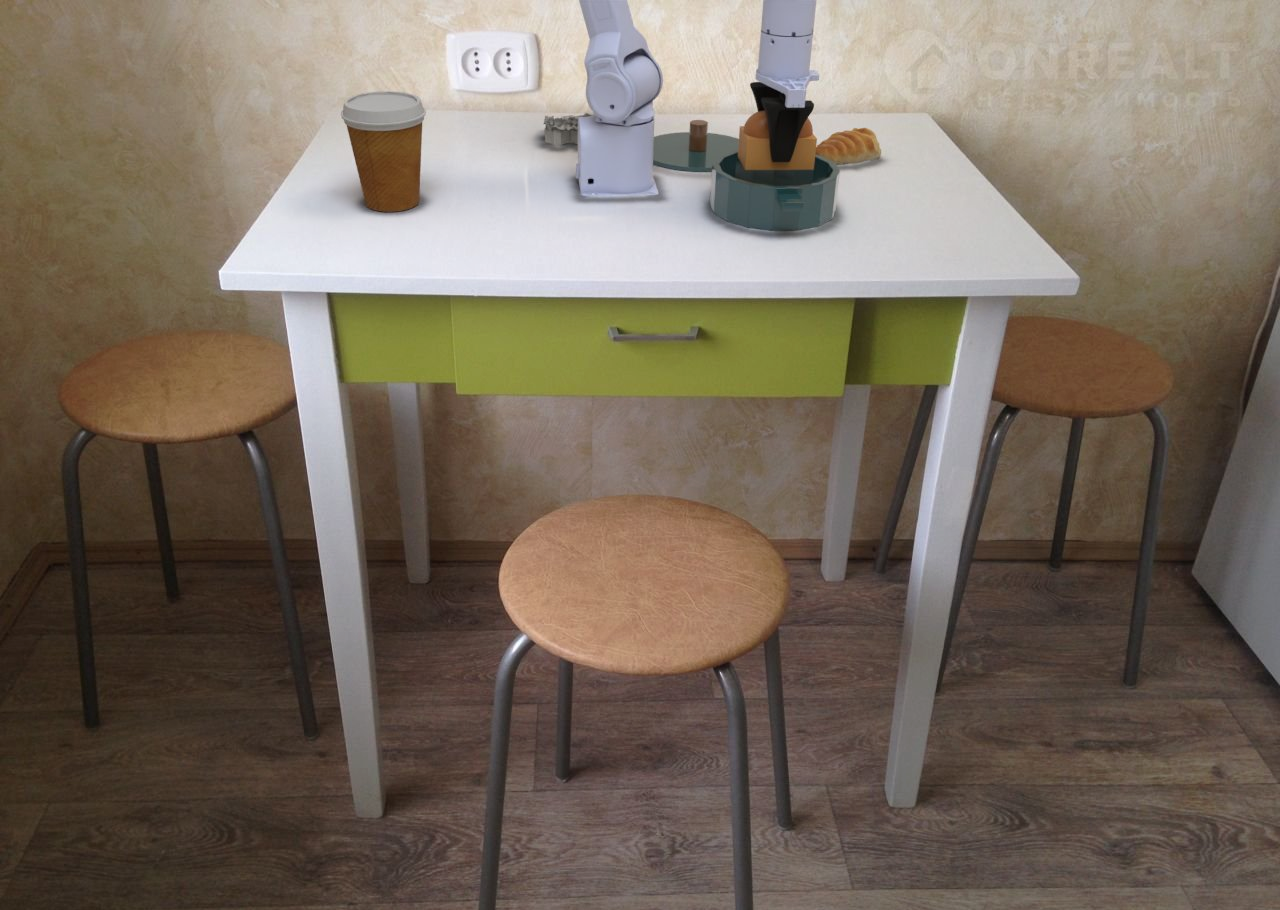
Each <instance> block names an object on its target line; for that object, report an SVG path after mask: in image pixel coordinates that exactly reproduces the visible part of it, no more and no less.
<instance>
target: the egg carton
mask: <svg viewBox="0 0 1280 910" xmlns="http://www.w3.org/2000/svg"><path fill="white" fill-rule="evenodd" d="M593 115H595V114H594V113H590V112H585V113H584V114H581V115H572V114H571V115H563V116H561V117H555V116H554V115H552V116H548V115H545V116H544V119H543V125H545V127H544V143H545V144H551V145H553V146H557V147H558V146H559V147H560V146H562V145H564V144H574V145H577V146H578V118H580V117H588V116H593Z"/></svg>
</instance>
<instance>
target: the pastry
mask: <svg viewBox="0 0 1280 910" xmlns="http://www.w3.org/2000/svg"><path fill="white" fill-rule="evenodd" d="M815 154H816V155H820V156H822V157H824V158H826V159H828V160H830V161H832V162H834V163H835V164H836V166H837V165H853V164H859V163H861V162H868V161H873V160H877V159H878V158H879V157H881V156H882V155H881V154H882V149H881V147H880V142H879V141H878V138H877V134H876V133H875V132H874V131H873V130H871V129H870V128H868V127H861V128H860V127H859V128H858V127H853V129H852V130H843V131H837V132H834V133H832V134H831V135H830V136H829V137H828V138H826V139H824V140H822V141H821V142H820V143H819V144H816V152H815Z"/></svg>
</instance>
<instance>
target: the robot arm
mask: <svg viewBox="0 0 1280 910" xmlns="http://www.w3.org/2000/svg"><path fill="white" fill-rule="evenodd" d="M578 1H579V5H580V9H581V13H582V16H583V20H584V24H585V27H586V28H585V29H586V32H587V34H588V38H589V42H588V46H587V50H586V53H585V57H584V64H583V65H584V67H585V68H584V69H585V71H586V85H585V99H586V102H587V104H588V107H589V109H590V110H591V111H592V112H593V113H592V114H595V115H593V116H588V117H580V118H578V145H577V163H575V178H576V179H578V185H579V192H580V196H583V197H596V196H598V197H602V196H603V197H604V196H658V195H659V190H658V187H657V184H656V181H655V178H654V164H653V147H654V137H655V110H654V109H655V108H654V100H656V99H657V98H658V97H659V95H660V93H661V91H662V89H663V85H664V84H663V83H664V75H663V72H662V69H661V66H660V64H659V63H658V61H656V59H655V58H654V56H653V55H652V53H651V51H650V49H649V46H648V42H647V39H646V37H645V36H643V34H642V33H641V32H640V31H639V30H638V29H637V28H636V27H635V25H634V22H633V18H632V14H631V10H630V6H629V1H628V0H578ZM816 8H817V0H763V1H762V13H761V23H760V24H761V25H760V34H759V35H760V36H759V50H758V63H757V68H756V71H755V80H756V81H753V82H750V84H749V87H750V89H751V92H752V94H753V98H754V100H755V105H756V110H757V112H759V111H765V113H766V116H767V121H768V127H769V141H770V154H771V159H772V162H790V161H791V158H792V156H793V153H794V150H795V146H796V143H797V140H798V137H799V134H800V132H801V129H802V127H803V125H804V123H805V121H806V120H807V118H808V119H809V117H810V115H811V114H812V113H813V110H814V107H815V103H814V102H813V101H812V100H810V99H809V100H806V98H807V88H808V86H809V84H810V82H812V81H813V82H816V81H819V80H820V73H819V72H818V71H817V70H814V69H810V68H811V57H812V49H813V40H814V39H813V37H814V28H815V18H816Z"/></svg>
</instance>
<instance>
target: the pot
mask: <svg viewBox="0 0 1280 910" xmlns="http://www.w3.org/2000/svg"><path fill="white" fill-rule="evenodd" d="M840 176H841V170H840V168H839V167H838V166H837V165H836V164H835V163H834V162H832V161H830V160H828V159H826V158H824V157H822V156H820V155H816V154H815V162H814V169H813V170H745V169H744V167H743V165H742V163H741V161H740V160H739V158H738V150H735V151H731V152H729V153H726V154H723V155H721V156H718V157H717V159H716V160H715V161H714V162H713V164H712V171H711V180H710V181H711V182H710V199H709V200H710V201H709V203H710V204H709V205H710V207H711V210H712V212H713V213H714V214H715V215H716V216H717V217H719V218H720V219H721V220H723V221H725V222H728V223H730V224H732V225H735V226H741V227H743V228H748V229H753V230H758V231H759V230H761V231H772V232H792V231H795V232H796V231H803V230H809V229H814V228H818V227H821V226H823V225H825V224H827V223H828V222H830V221H832V220H833V218H834V216H835V213H836V210H837V201H838V193H839V186H840V185H839V184H840Z"/></svg>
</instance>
